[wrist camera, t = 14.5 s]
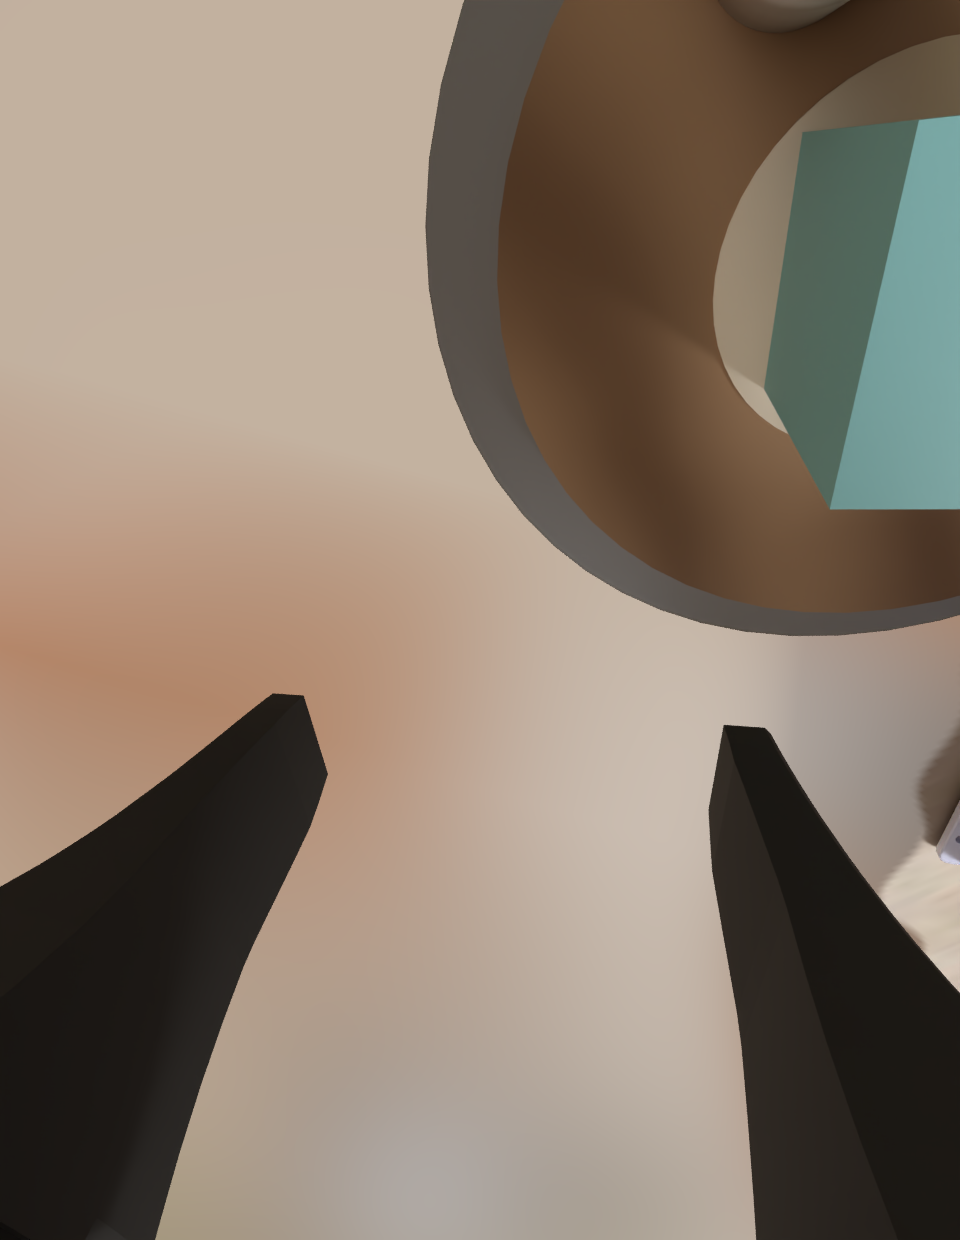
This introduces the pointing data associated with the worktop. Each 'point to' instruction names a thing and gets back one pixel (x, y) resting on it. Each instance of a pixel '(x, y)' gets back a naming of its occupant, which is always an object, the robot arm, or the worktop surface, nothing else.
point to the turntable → (702, 282)
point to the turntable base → (472, 340)
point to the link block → (873, 315)
